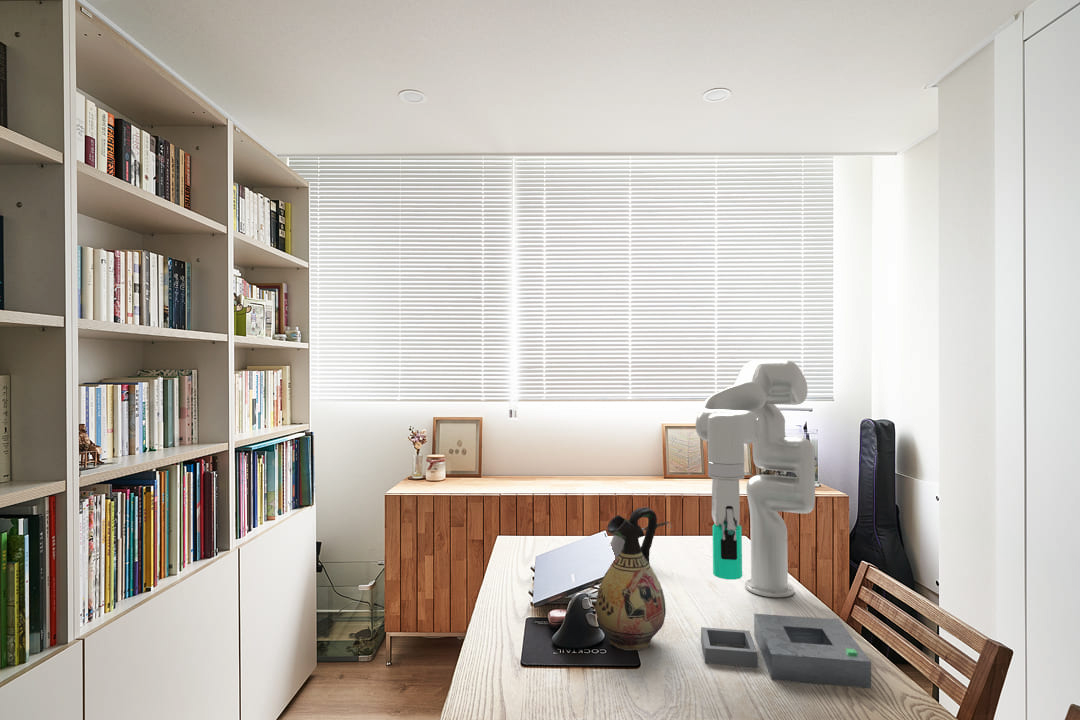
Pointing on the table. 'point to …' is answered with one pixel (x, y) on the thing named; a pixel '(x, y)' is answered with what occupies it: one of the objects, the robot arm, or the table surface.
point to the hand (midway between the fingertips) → (727, 553)
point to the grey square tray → (726, 653)
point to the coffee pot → (619, 542)
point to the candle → (726, 566)
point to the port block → (811, 651)
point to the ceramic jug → (631, 587)
